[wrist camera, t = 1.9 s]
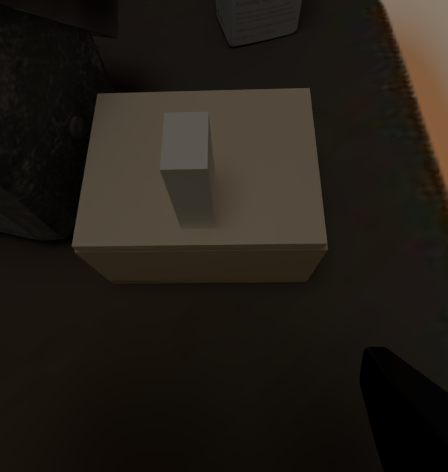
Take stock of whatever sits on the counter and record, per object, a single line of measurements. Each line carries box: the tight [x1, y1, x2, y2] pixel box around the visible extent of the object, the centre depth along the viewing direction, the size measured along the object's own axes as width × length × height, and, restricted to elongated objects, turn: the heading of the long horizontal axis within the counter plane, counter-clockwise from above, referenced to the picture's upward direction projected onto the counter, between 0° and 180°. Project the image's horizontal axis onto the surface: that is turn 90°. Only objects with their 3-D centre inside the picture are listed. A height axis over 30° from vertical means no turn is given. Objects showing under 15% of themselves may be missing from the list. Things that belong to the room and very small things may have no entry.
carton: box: [75, 245, 328, 284], centre depth 22 cm, size 9×12×6 cm
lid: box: [72, 88, 327, 251], centre depth 16 cm, size 9×12×6 cm
